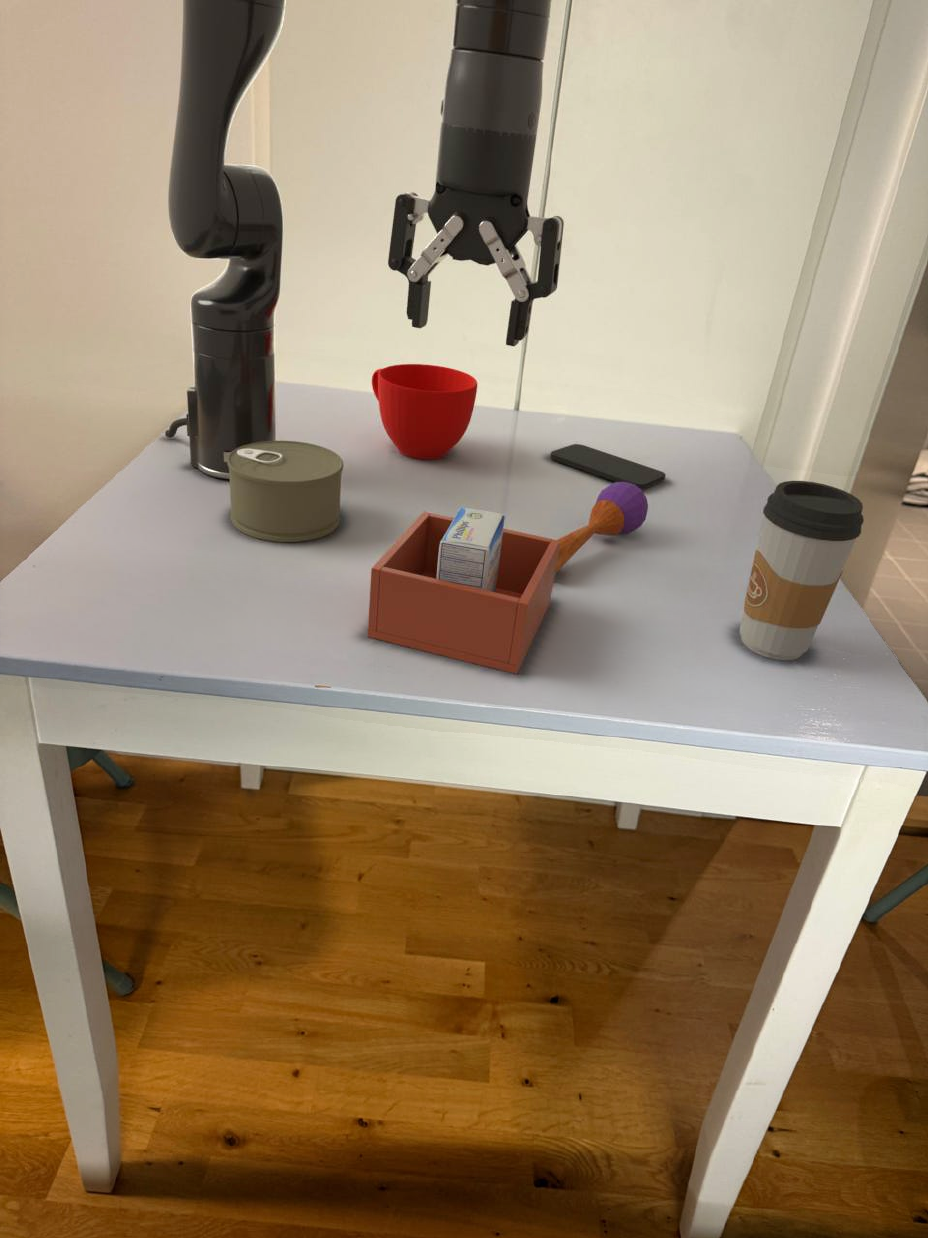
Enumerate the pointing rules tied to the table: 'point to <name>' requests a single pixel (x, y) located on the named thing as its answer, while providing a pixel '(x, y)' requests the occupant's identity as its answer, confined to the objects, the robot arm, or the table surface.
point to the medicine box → (472, 549)
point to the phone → (608, 465)
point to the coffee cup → (797, 566)
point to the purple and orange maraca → (607, 518)
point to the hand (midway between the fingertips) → (465, 335)
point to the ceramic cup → (424, 407)
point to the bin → (461, 597)
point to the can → (285, 490)
